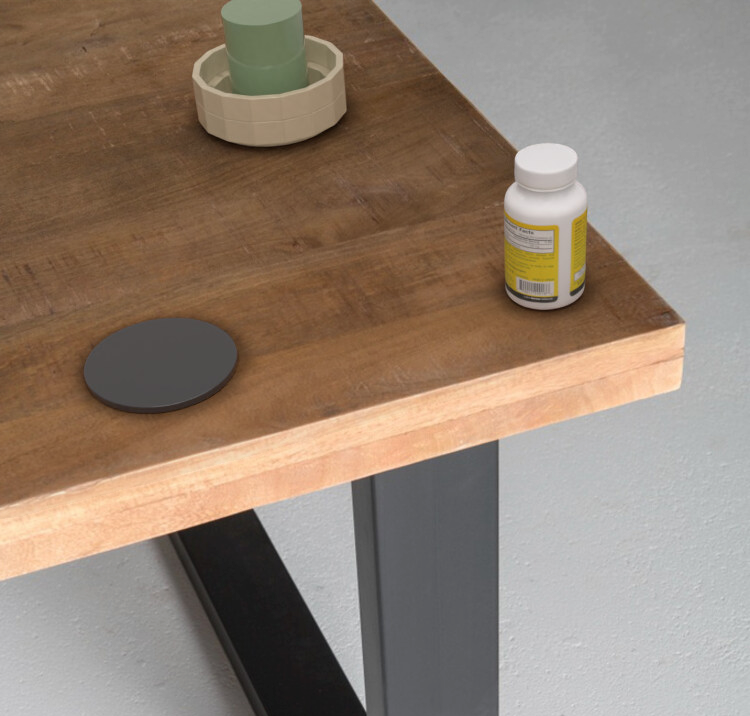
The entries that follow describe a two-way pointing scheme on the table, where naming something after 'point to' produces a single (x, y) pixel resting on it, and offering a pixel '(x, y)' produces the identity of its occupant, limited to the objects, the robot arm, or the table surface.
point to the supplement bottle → (545, 228)
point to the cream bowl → (271, 100)
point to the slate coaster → (160, 365)
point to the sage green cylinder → (265, 46)
